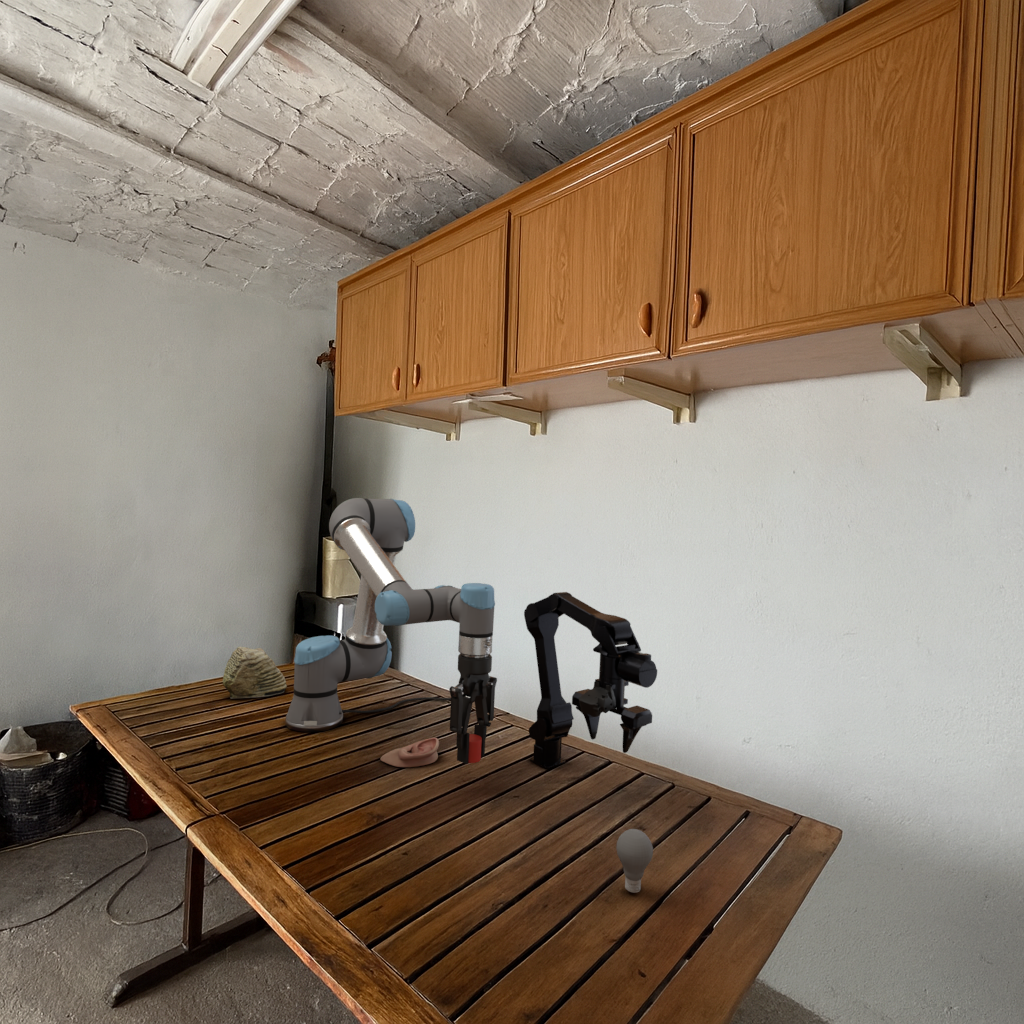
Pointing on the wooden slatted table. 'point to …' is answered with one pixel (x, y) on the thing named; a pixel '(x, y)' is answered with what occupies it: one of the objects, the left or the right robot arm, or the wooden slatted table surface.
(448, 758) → the wooden slatted table surface
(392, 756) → the anatomical model
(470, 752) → the canister
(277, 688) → the fossil
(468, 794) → the wooden slatted table surface
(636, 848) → the light bulb
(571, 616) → the right robot arm
